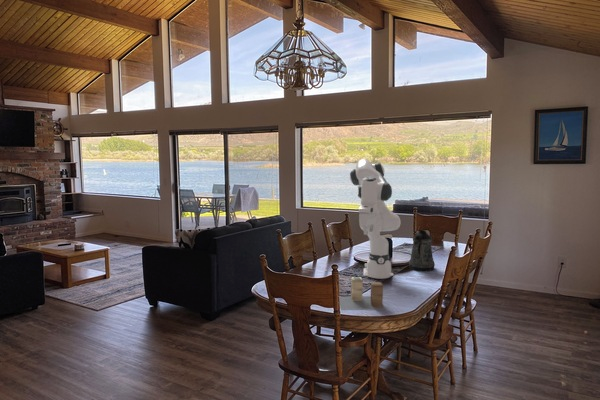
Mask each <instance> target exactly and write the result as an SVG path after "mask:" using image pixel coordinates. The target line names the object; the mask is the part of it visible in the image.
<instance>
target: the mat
mask: <svg viewBox="0 0 600 400" xmlns="http://www.w3.org/2000/svg"><path fill="white" fill-rule="evenodd" d="M339 297H340V305H339V308H340V310H341V311H353V310H354V311H359V310H360V311H363V310H364V311H365V310H366V311H367V310H370V311H371V310H373V311H375V310H376V311H377V310H381V311H382V310H385V311H386V310H387V308H386V307H385V306H384V304H383V306H382V307H372V305H371V295H369V296H367V295H366V296H365V295H364V296H363V295H362V301H352V298H351V296H339Z"/></svg>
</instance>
